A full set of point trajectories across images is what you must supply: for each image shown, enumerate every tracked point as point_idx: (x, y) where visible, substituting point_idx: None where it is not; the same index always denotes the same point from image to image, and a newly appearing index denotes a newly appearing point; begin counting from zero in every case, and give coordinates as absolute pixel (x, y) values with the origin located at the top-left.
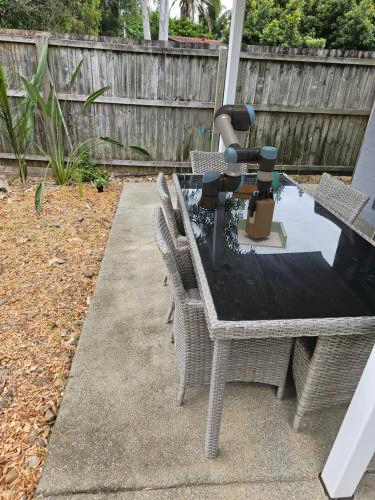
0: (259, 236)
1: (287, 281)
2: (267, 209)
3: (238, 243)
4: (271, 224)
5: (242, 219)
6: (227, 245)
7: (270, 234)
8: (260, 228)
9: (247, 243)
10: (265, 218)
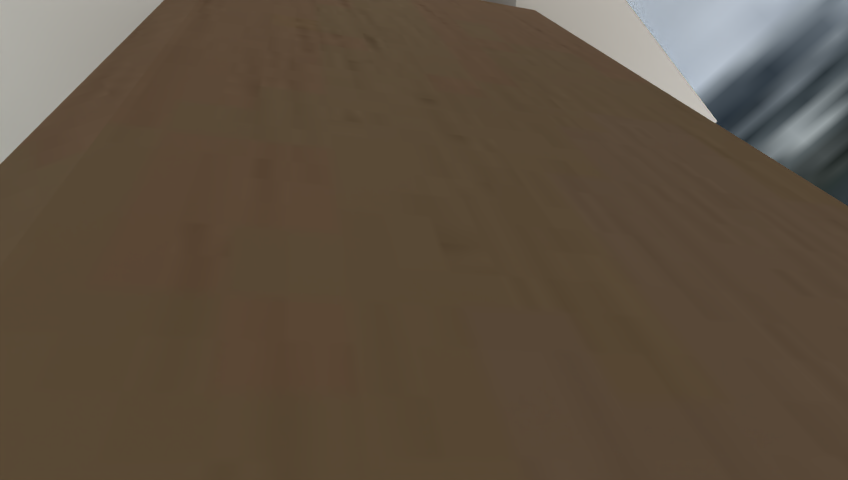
0: (485, 2)
1: None
2: (708, 419)
3: (709, 115)
4: (162, 8)
5: None
6: (817, 151)
7: (36, 100)
8: (547, 45)
9: (646, 36)
10: (518, 122)
